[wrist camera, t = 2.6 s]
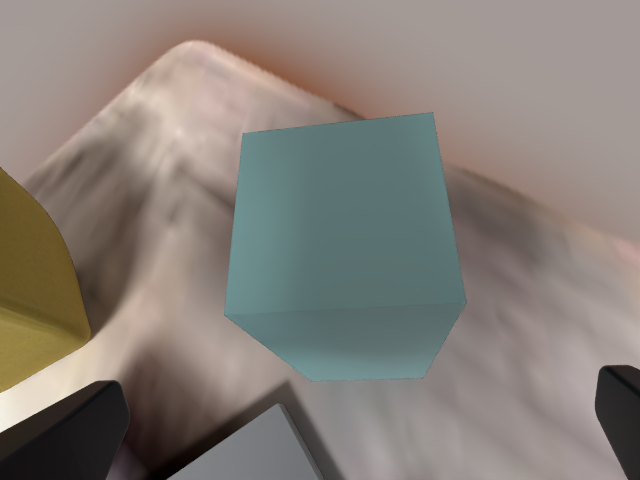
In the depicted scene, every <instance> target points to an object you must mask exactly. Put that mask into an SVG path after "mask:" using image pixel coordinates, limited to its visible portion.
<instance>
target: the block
mask: <svg viewBox="0 0 640 480" xmlns="http://www.w3.org/2000/svg"><path fill="white" fill-rule="evenodd" d="M465 304H466V297H465V292H464V286H463V280H462V275H461V269H460V263H459V258H458V252H457V246H456V241H455V235H454V229H453V224H452V218H451V212H450V207H449V201H448V195H447V190H446V184H445V178H444V173H443V167H442V161H441V156H440V150H439V145H438V139H437V133H436V127H435V122H434V116H433V112H431V113H422V114H413V115H404V116H395V117H386V118H377V119H368V120H359V121H350V122H341V123H332V124H323V125H314V126H305V127H296V128H287V129H278V130H269V131H260V132H251V133H243V135H242V144H241V154H240V164H239V174H238V183H237V193H236V203H235V213H234V222H233V232H232V242H231V252H230V261H229V271H228V281H227V291H226V300H225V310H224V315H225V316H226V317H228V318H229V319H230V320H231V321H233V322H234V323H235V324H237V325H238V326H239V327H241V328H242V329H243V330H245V331H246V332H247V333H248V334H250V335H251V336H252V337H254V338H255V339H256V340H258V341H259V342H260V343H262V344H263V345H264V346H266V347H267V348H268V349H269V350H271V351H272V352H273V353H275V354H276V355H277V356H279V357H280V358H281V359H283V360H284V361H285V362H287V363H288V364H289V365H290V366H292V367H293V368H294V369H296V370H297V371H298V372H300V373H301V374H302V375H304V376H305V377H306V378H307V379H309V380H310V381H334V380H371V379H409V378H423V377H424V375H425V373H426V372H427V370H428V368H429V367H430V365H431V363H432V361H433V360H434V358H435V356H436V354H437V353H438V351H439V349H440V348H441V346H442V344H443V342H444V341H445V339H446V337H447V335H448V334H449V332H450V330H451V329H452V327H453V325H454V323H455V322H456V320H457V318H458V316H459V315H460V313H461V311H462V309H463V308H464V306H465Z"/></svg>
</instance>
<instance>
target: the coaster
mask: <svg viewBox="0 0 640 480" xmlns="http://www.w3.org/2000/svg"><path fill="white" fill-rule="evenodd" d="M167 480H324V478H323V476H322V474H321V472H320V471H319V469H318V467H317V465H316V463H315V461H314V459H313V458H312V456H311V454H310V452H309V450H308V448H307V446H306V445H305V443H304V441H303V439H302V437H301V435H300V434H299V432H298V430H297V428H296V426H295V424H294V422H293V421H292V419H291V417H290V415H289V413H288V411H287V410H286V408H285V406H284V405H282V404H279V403H277V404H275V405H274V406H272V407H271V408H270V409H268V410H267V411H265V412H264V413H262V414H261V415H259V416H258V417H257V418H255V419H254V420H252V421H251V422H249V423H248V424H246V425H245V426H244V427H242V428H241V429H239V430H238V431H236V432H235V433H233V434H232V435H231V436H229V437H228V438H226V439H225V440H223V441H222V442H220V443H219V444H218V445H216V446H215V447H213V448H212V449H210V450H209V451H207V452H206V453H204V454H203V455H202V456H200V457H199V458H197V459H196V460H194V461H193V462H191V463H190V464H189V465H187V466H186V467H184V468H183V469H181V470H180V471H178V472H177V473H176V474H174V475H173V476H171V477H170V478H168V479H167Z"/></svg>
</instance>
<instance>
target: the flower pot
mask: <svg viewBox="0 0 640 480" xmlns="http://www.w3.org/2000/svg"><path fill="white" fill-rule="evenodd" d="M90 337H91V329H90V326H89V322H88V319H87V315H86V311H85V307H84V303H83V300H82V296H81V292H80V288H79V283H78V279H77V275H76V271H75V268H74V265H73V262H72V259H71V256H70V254H69V251H68V249H67V246H66V244H65V242H64V240H63V238H62V236H61V234H60V232H59V230H58V228H57V227H56V225H55V224H54V222H53V220H52V219H51V218H50V216H49V215H48V214H47V212H46V211H45V210H44V209H43V207H42V206H41V205H40V204H39V203H38V202H37V201H36V200H35V199H34V198H33V197H32V196H31V195H30V194H29V193H28V192H27V191H26V190H25V189H24V188H23V187H22V186H20V185H19V184H18V183H17V182H16V181H15V180H14V179H13V178H12V177H10V176H9V175H8V174H7V173H6V172H5V171H4V170H3V169H2V168H1V167H0V393H1V392H3V391H5V390H8V389H9V388H11V387H13V386H15V385H16V384H18V383H20V382H21V381H23V380H25V379H27V378H28V377H30V376H32V375H33V374H35V373H37V372H39V371H40V370H42V369H44V368H46V367H47V366H49V365H51V364H53V363H54V362H56V361H58V360H60V359H62V358H63V357H65V356H67V355H69V354H70V353H72V352H74V351H76V350H78V349H79V348H81V347H83V346H84V345H85V344H87V342H88V341H89V340H90Z"/></svg>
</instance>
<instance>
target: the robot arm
mask: <svg viewBox="0 0 640 480" xmlns="http://www.w3.org/2000/svg"><path fill="white" fill-rule="evenodd" d="M595 411H596V415H597V418H598V420H599V422H600V424H601V426H602V428H603V430H604V432H605V435H606V437H607V439H608V441H609V443H610V445H611V447H612V449H613V451H614V453H615V455H616V457H617V459H618V461H619V463H620V465H621V467H622V469H623V471H624V473H625V475H626V477H627V479H628V480H640V370H639V369H637V368H635V367H633V366H630V365H606V366H603V367H602V368H601V369H600V371H599V374H598V382H597V390H596V397H595ZM129 422H130V411H129V408H128V405H127V402H126V399H125V396H124V393H123V390H122V387H121V384H120V383H119V382H118V381H115V380H104V381H96V382H94V383H92V384H90V385H88V386H86V387H84V388H82V389H81V390H79V391H77V392H75V393H73V394H71V395H69V396H68V397H66V398H64V399H62V400H60V401H58V402H56V403H55V404H53V405H51V406H49V407H47V408H45V409H44V410H42V411H40V412H38V413H36V414H34V415H32V416H31V417H29V418H27V419H25V420H23V421H21V422H19V423H18V424H16V425H14V426H12V427H10V428H8V429H6V430H5V431H3V432H1V433H0V480H106V477H107V475H108V473H109V470H110V468H111V466H112V463H113V461H114V459H115V456H116V454H117V452H118V449H119V447H120V445H121V442H122V440H123V438H124V435H125V433H126V431H127V428H128V426H129Z"/></svg>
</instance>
